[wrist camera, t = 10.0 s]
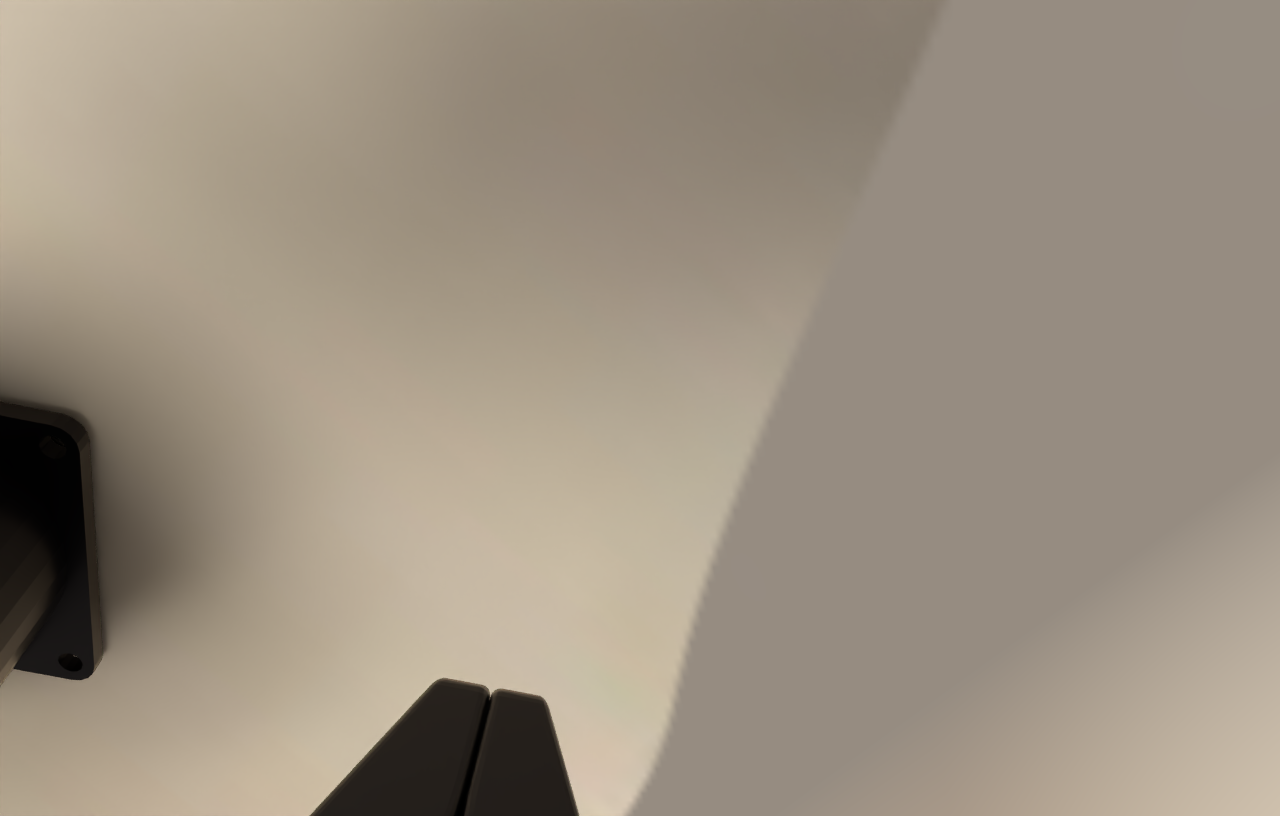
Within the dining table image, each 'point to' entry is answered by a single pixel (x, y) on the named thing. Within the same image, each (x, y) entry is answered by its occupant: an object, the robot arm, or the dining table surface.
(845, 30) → the dining table surface
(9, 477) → the robot arm
